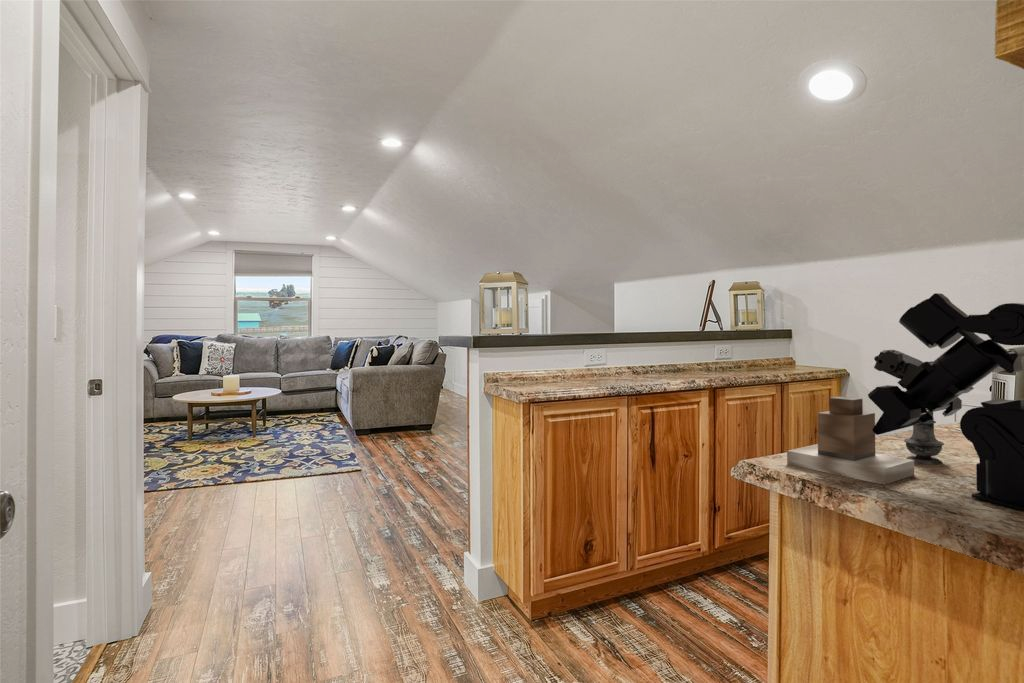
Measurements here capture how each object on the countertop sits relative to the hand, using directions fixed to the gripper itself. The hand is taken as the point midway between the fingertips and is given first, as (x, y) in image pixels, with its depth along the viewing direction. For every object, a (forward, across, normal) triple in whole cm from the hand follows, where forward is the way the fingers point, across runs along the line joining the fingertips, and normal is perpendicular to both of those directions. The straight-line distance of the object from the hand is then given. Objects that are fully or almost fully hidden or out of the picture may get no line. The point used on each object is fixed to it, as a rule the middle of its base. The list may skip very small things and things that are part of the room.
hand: (875, 432), depth 88 cm
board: (+8, 0, +2) cm, 8 cm away
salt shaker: (+5, -17, +5) cm, 19 cm away
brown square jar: (+7, 0, 0) cm, 7 cm away
